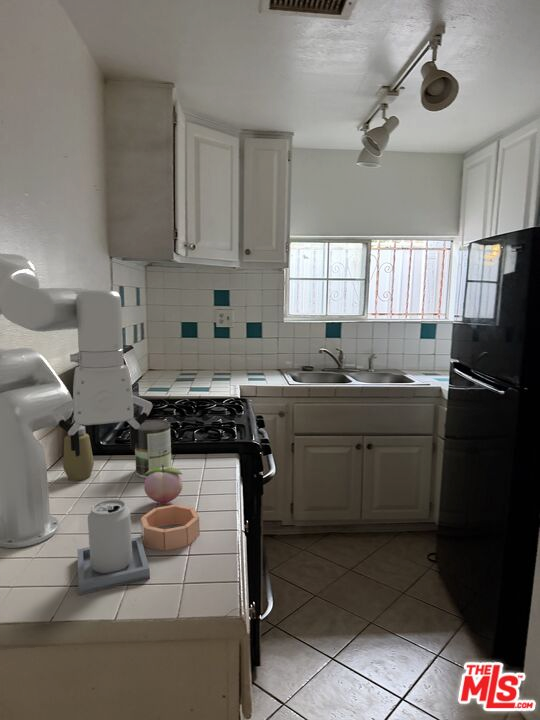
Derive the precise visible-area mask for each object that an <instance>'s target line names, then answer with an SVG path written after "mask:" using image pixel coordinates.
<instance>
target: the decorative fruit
mask: <svg viewBox="0 0 540 720" xmlns="http://www.w3.org/2000/svg"><path fill="white" fill-rule="evenodd" d="M147 474H148V476H147V477H146V478H145V481H144V484H143V485H144V486H143V487H144V488H143V489H144V493H145V494H146V497H148V498H149V499H151V500H152V501H154V502H155V503H158V504H161V505H165V504H168V503H170V502H172V501H174V500H175V499H177V497H178V496H179V495H180V494H181V493H182V490H183V487H184V486H183V478H182V476H183V473H182V471H180V470H179V469H177V468H176V467H172V468H167V467H163V465H162V468H154V469H151V470H149V471H147V472H146V473H145V474H144V475H147ZM181 475H182V476H181Z"/></svg>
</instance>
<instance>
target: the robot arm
mask: <svg viewBox="0 0 540 720" xmlns="http://www.w3.org/2000/svg"><path fill="white" fill-rule="evenodd" d="M122 309H123V308H122V297H121V295H120V294H119V292H118V291H116V290H111V289H108V290H107V289H87V288H78V287H77V288H76V287H75V288H74V287H72V288H71V287H70V288H68V287H64V288H63V287H47V288H45V287H44V288H42V287H41V288H40V281H39V278H38V275H37V272H36V268H35V266H34V264H33V263H32V262H31V260H29V259H28V258H27V257H25V256H23V255H19V254H13V253H0V316H2V315H3V317H4V318H5V319H6V320H7V321H10V322H11V323H13V324H15V325H17V326H19V327H22V328H24V329H26V330H30V331H33V332H42V333H43V332H44V333H46V332H54V331H62V330H64V331H65V330H69V331H70V330H77V344H78V346H77V347H78V351H76V353H72V354H71V353H70V354H69V359H70V362H71V363H73V362H74V363H77V364H78V365H79V366H77V367H75V369H74V375H73V383H72V384H73V388H72V391H73V395H71V393H70V391H69V389H68V388H67V386H66V385H65V383H64V382H63V381H62V380H61V377H59V375H58V374H57V373H56V371H55V370H54V369H53V367H52V366H51V365H50V363H49V362H48V361H47V359H46V358H45V357H44V355H42V354H41V353H40V352H38V351H37V350H34V349H32V348H27V347H19V348H13V349H4V348H0V548H6V549H17V548H24V547H29V546H33V545H36V544H39V543H42V542H44V541H46V540H48V539H49V538H51V537H53V535H55V534H56V533H57V532H58V530H59V528H60V522H59V520H58V518H56V517H55V516H53V515H51V509H50V507H51V506H50V496H49V495H50V493H49V484H48V481H49V480H48V471H47V470H48V468H47V460H46V459H47V457H46V450H45V449H44V446H43V445H42V444H41V442H40V441H39V440H38V439H37V438H36V437H35V436H34V435H35V434H34V433H35V432H37V431H40V430H42V429H46V428H50V427H53V426H56V425H58V426H59V427H60V428H61V429H62V430H63V431H65V432H66V433H67V434H68V433H69V435H70V438H71V451H75V453H76V457H77V456H79V455H80V441H79V431H78V429H79V428H80V427H81V426H94V425H95V426H96V425H105V424H114V423H124V422H127V423H128V424H129V425H130V426H129V427H128V428H129V431H128V432H129V446H130V450H132V451H135V444H139V437H138V428H140V425H141V424H142V423H143V422H144V421H146V420H148V417H149V415H150V413H151V411H152V409H153V407H154V406H153V403H152V402H151V401H148V400H146V399H144V398H141V397H139V396H137V395H134V394H133V393H134V392H133V387H132V386H133V385H132V378H131V372H130V368H129V366H128V365H126V364H124V363H125V362H124V342H123V341H124V336H123V316H122V313H123V312H122V311H123V310H122ZM134 405H137V406H139V407H142V411H141V412H140V413H139V414H138V415H137V416H136V417H135V415H134V411H135V410H134V407H135V406H134ZM72 414H73V415H74V419H75V420H74V421H73V422H72V421H71V422H70V421H68V419H70V417H72Z"/></svg>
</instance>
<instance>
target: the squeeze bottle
mask: <svg viewBox="0 0 540 720" xmlns="http://www.w3.org/2000/svg"><path fill="white" fill-rule="evenodd" d="M74 420H75V419H74V414H73V415H72V420H71V423H72V422H73V421H74ZM78 431H79V441H80V455H79V456H77V457H76V453H75V451H71V438H70V435H69V433H68V432H67V435H66V436H65V437H64V438H63V439H64V440H63V463H62V465H63V468H62V469H63V470H64V473H65V475H66V477H67V478H68V479H67V480H69V481H73V482H75V481H76V482H77V481H83V480H87V479H89V478H90V477H91V475H92V472H93V469H94V466H95V465H94V464H95V462H94V461H95V460H94V457H93V456H94V455H93V450H92V445H91V439H90V435H89V434H88V433H86V425H82V426H81V427H80V428H79V429H78Z"/></svg>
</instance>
